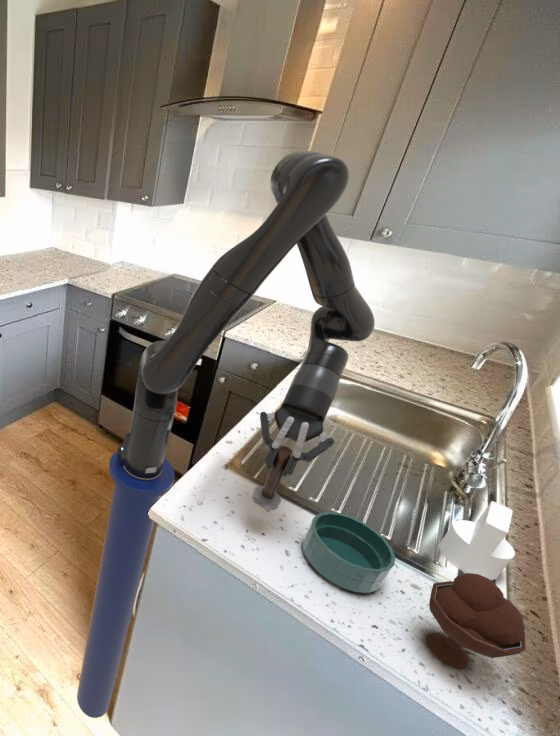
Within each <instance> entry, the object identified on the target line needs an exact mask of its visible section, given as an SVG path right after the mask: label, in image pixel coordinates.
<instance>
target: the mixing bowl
mask: <svg viewBox="0 0 560 736" xmlns="http://www.w3.org/2000/svg"><path fill="white" fill-rule="evenodd" d="M301 545H302V550H303V554H304V557H306V559H307V561H308V562H309V564H310V565H311V566H312V568H313V569H314V570H315V571H316V572H317V573H318V574H319V575H320V576H321V577H323V578H324V579H325V580H327V581H328V582H330V583H331V584H332V585H334V586H336V587H339V588H341V589H343V590H346V591H350V592H354V593H360V594H369V593H373V592H376V591H378V590H379V589H380V588H381V587H382V585H383V584H384V582H385V581H386V579H387V578H388V576H389V574H390V573H391V571H392V569H393V568H394V567H395V563H396V555H395V552H394V551H393V548H392V546H391V545H390V544H389V542H388V541H387V540H386V539H385V538H384V537H383V536H382V535H381V534H380V533H379V532H378V531H377V530H375V529H374V528H373V527H371V526H370V525H368V524H366V523H365V522H363V521H361V520H359V519H357V518H355V517H353V516H350V515H347V514H345V513H340V512H334V511H326V512H319V513H318V514H317V515H315V516H314V517H313V518H312V520H311V522H310V524H309V526H308V529H307V530H306V533H305V535H304V537H303V540H302V543H301Z"/></svg>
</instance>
